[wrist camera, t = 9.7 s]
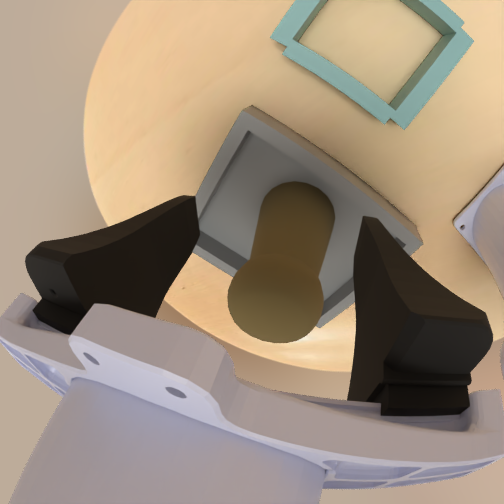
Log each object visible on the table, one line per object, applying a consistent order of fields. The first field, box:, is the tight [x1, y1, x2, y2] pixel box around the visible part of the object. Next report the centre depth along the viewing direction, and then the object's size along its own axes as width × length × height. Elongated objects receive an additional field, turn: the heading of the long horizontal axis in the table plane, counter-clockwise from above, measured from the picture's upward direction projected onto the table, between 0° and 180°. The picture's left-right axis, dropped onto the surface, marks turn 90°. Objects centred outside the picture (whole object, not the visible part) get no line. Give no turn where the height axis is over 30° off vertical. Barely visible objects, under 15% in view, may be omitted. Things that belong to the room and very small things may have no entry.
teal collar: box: [270, 0, 474, 130], centre depth 12 cm, size 10×10×2 cm
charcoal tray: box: [193, 105, 423, 328], centre depth 23 cm, size 16×13×2 cm
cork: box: [228, 181, 335, 343], centre depth 18 cm, size 6×6×11 cm
